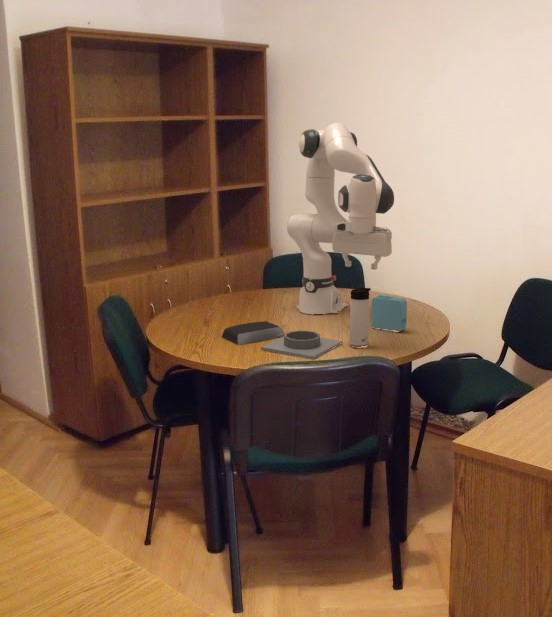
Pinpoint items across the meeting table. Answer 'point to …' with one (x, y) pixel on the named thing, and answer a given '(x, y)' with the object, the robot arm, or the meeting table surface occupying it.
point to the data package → (389, 313)
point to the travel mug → (359, 317)
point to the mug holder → (301, 344)
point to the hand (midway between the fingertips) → (361, 267)
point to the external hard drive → (252, 332)
